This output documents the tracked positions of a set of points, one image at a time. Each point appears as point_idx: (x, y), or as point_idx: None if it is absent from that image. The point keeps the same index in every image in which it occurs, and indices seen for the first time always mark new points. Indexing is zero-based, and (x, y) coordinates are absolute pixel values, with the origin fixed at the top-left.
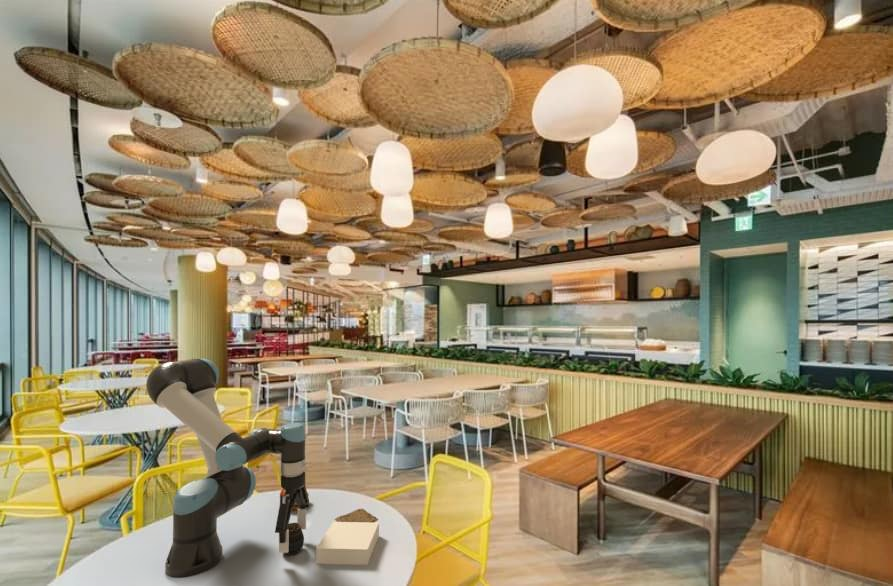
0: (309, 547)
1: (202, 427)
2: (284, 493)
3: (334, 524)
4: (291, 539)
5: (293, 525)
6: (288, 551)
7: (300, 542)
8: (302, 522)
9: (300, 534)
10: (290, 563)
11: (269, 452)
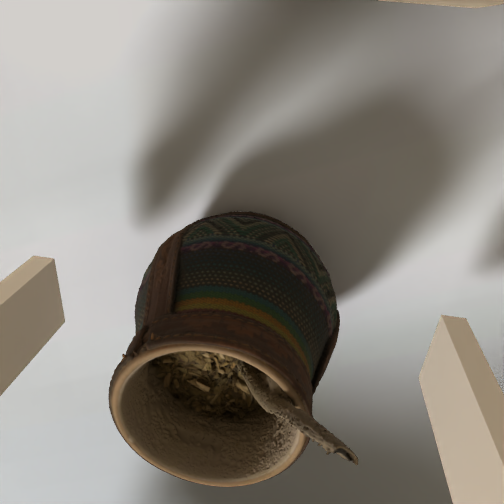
0: (195, 155)
1: None
2: None
3: None
4: (315, 347)
5: (138, 403)
6: (444, 315)
7: (282, 246)
8: (17, 321)
9: (239, 287)
10: (413, 245)
11: None
